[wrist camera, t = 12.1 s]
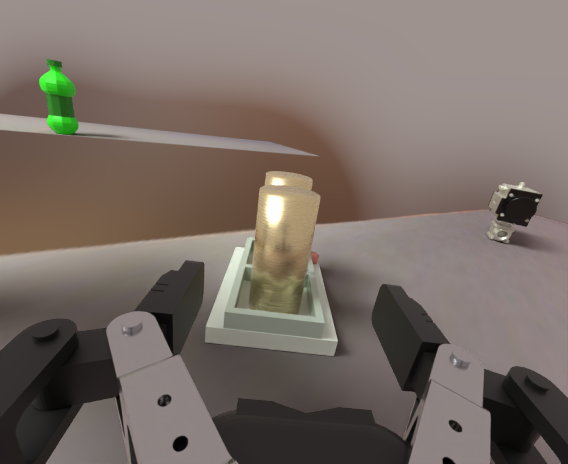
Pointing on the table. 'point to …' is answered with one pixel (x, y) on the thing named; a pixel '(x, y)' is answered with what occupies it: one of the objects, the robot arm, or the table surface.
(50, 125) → the plastic bottle
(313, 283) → the pale green divided tray
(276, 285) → the billet
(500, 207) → the pneumatic valve
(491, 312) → the table surface
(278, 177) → the seated billet
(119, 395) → the robot arm
